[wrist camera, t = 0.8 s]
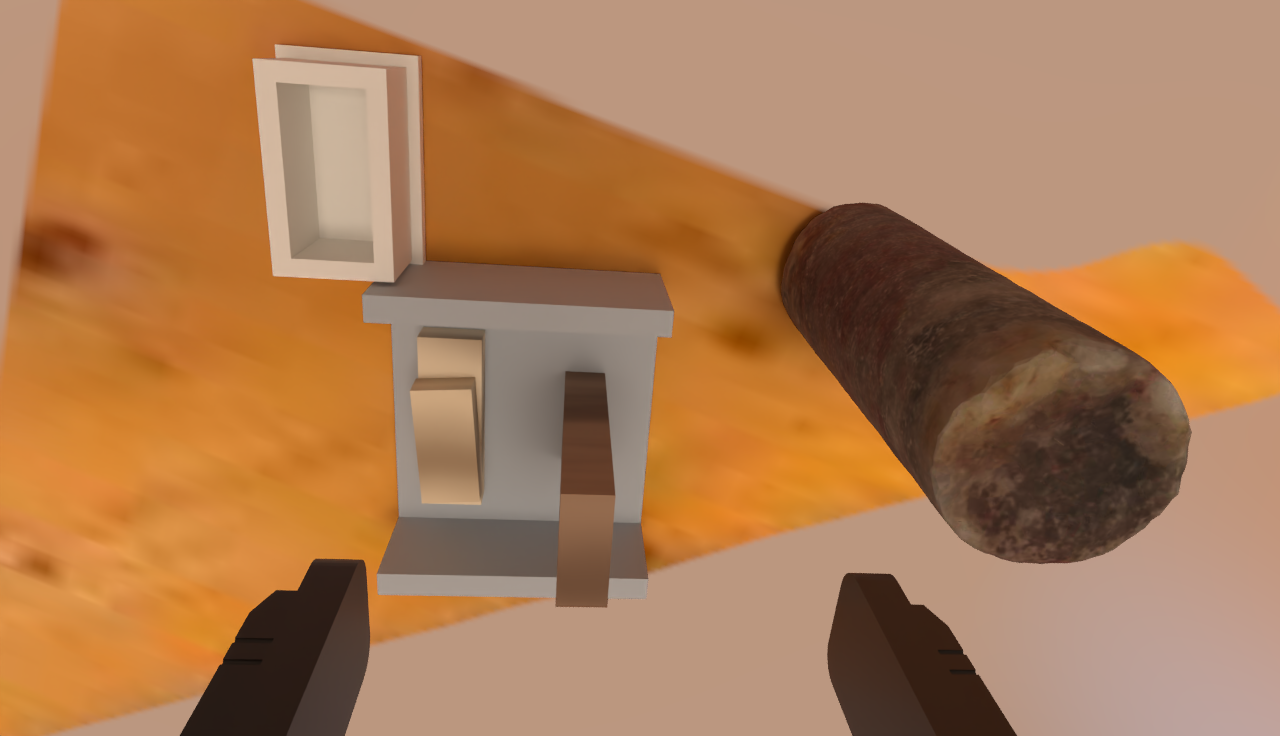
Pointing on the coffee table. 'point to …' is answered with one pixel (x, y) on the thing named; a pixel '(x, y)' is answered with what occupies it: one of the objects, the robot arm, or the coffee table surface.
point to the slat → (585, 494)
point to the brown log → (987, 389)
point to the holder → (342, 162)
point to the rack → (521, 419)
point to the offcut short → (447, 439)
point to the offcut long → (456, 367)
